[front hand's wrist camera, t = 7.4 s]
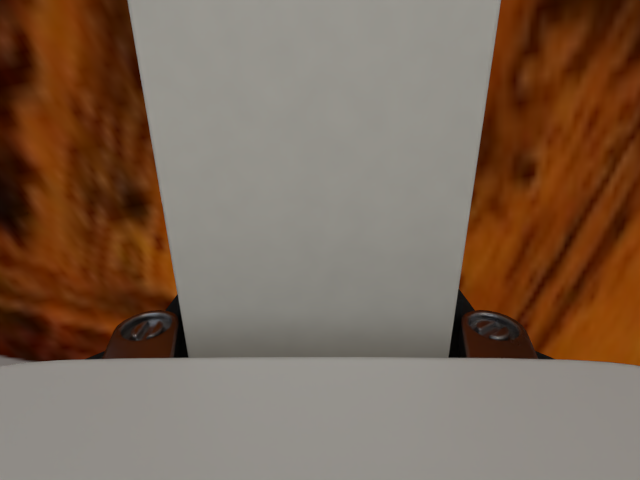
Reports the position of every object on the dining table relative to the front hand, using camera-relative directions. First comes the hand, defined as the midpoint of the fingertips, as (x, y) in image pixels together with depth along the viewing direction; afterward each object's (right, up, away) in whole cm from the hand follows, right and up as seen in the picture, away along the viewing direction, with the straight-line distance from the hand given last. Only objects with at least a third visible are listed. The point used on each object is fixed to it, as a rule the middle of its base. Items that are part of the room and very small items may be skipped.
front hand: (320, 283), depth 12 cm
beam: (0, +23, -5) cm, 24 cm away
